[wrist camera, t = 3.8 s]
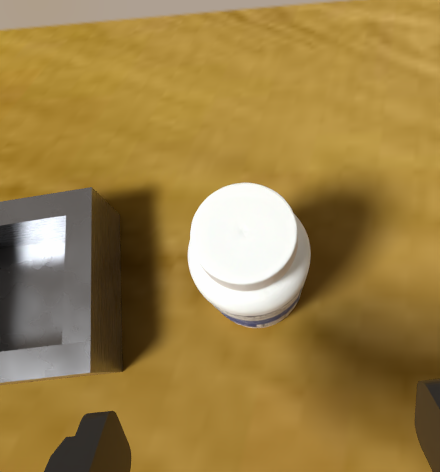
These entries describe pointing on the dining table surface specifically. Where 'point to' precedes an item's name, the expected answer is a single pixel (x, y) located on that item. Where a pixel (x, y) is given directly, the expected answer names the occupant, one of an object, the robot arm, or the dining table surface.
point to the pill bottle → (249, 254)
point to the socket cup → (59, 287)
